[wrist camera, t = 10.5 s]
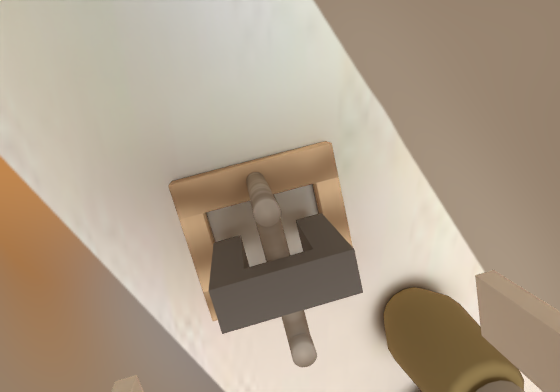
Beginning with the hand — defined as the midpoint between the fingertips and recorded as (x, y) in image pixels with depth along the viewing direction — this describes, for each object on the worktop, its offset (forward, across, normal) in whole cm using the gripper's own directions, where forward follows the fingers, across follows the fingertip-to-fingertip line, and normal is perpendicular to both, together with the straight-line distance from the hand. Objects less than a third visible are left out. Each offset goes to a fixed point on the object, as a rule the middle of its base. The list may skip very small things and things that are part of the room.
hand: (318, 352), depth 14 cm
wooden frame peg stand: (+21, 0, -2) cm, 21 cm away
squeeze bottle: (+21, +12, -15) cm, 28 cm away
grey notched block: (+16, 0, -2) cm, 16 cm away
